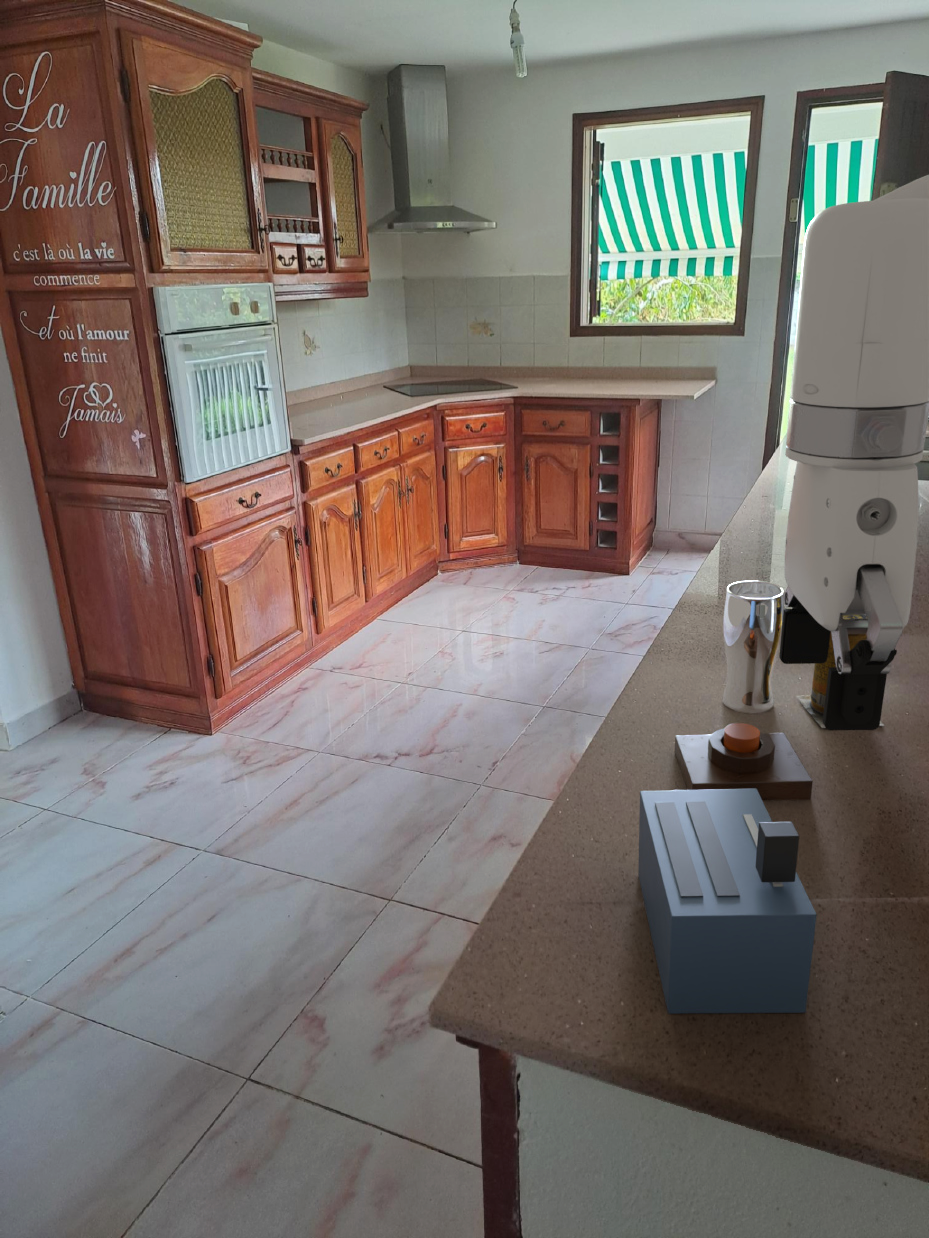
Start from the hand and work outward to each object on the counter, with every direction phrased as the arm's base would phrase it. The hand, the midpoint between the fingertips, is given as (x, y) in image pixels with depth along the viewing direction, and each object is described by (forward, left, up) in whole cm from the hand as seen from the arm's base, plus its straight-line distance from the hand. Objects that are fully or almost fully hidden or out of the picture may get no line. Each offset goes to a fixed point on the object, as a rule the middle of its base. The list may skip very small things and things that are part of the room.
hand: (824, 692), depth 58 cm
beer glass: (-8, -46, -25) cm, 53 cm away
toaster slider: (+2, -1, -16) cm, 16 cm away
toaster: (+5, -5, -25) cm, 26 cm away
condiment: (-18, -43, -25) cm, 53 cm away
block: (-3, -30, -25) cm, 39 cm away
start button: (-3, -30, -21) cm, 37 cm away
